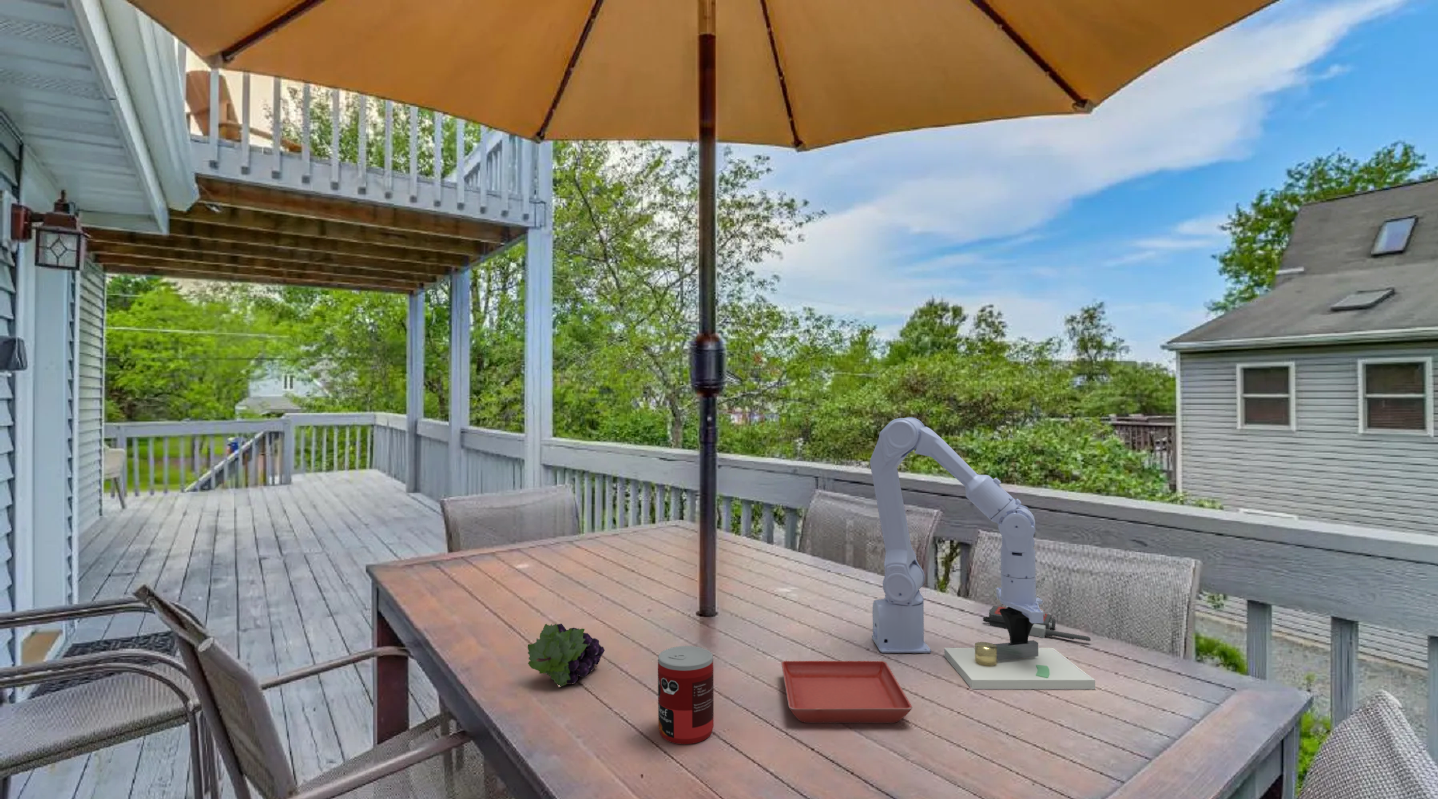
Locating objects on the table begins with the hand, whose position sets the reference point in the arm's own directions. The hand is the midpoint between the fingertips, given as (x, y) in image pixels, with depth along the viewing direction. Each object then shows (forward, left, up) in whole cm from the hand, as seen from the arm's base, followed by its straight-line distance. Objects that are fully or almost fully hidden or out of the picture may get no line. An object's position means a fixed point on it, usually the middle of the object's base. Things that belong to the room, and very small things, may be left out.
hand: (1019, 650), depth 117 cm
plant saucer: (-34, -14, -3) cm, 37 cm away
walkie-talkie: (+11, +18, -3) cm, 21 cm away
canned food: (-58, -24, -3) cm, 63 cm away
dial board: (-2, -3, -3) cm, 5 cm away
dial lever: (-3, -2, -1) cm, 4 cm away
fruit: (-80, -6, -3) cm, 80 cm away
